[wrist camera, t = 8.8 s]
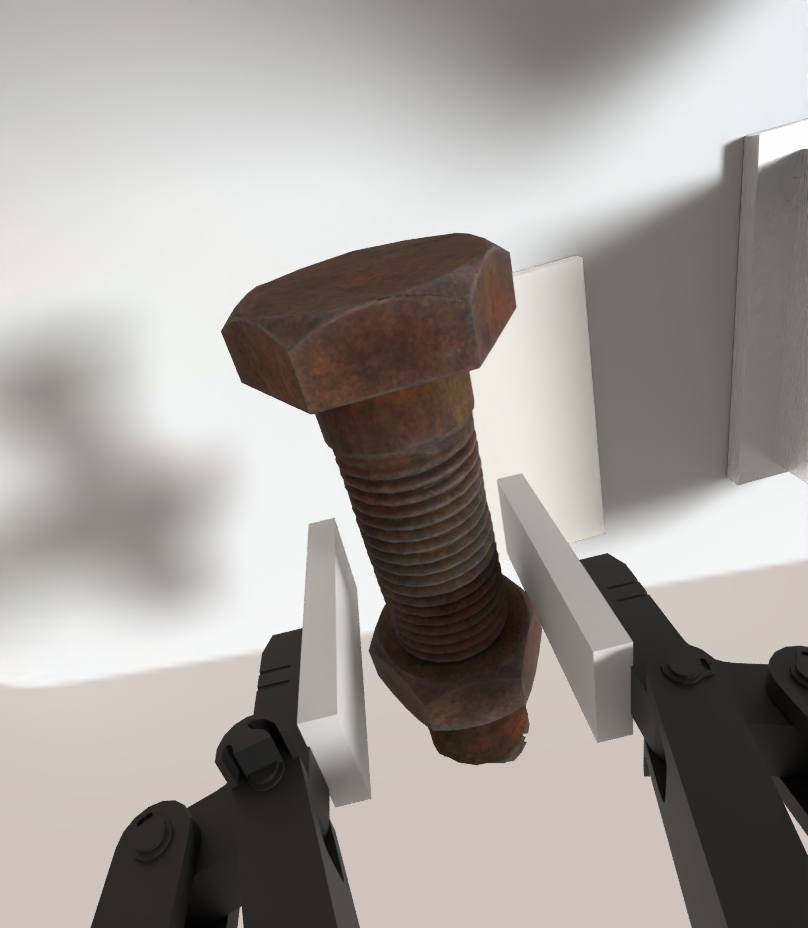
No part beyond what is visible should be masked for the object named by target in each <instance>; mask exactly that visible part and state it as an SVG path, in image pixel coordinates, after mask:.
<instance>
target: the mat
mask: <svg viewBox="0 0 808 928" xmlns="http://www.w3.org/2000/svg"><path fill="white" fill-rule="evenodd" d="M512 275H513V283H514V290H515V298H516V306H517V308H516V310H515V311H514V313H513V315H512V316H511V318H510V320H509V321H508V323H507V325H506V326H505V328H504V330H503V331H502V333H501V335H500V336H499V338H498V340H497V341H496V343H495V345H494V346H493V348H492V350H491V351H490V353H489V354H488V356H487V358H486V359H485V361H484V362H483V364H482V366H481V367H480V368H479V369H475V370H472V371H470V377H471V383H472V389H473V395H474V409H473V411H472V413H473V418H474V429H475V431H476V437H477V441H478V447H479V455H480V458H481V462H482V464H481V467H482V471H483V479H484V488H485V491H486V500H487V503H488V507H489V511H490V513H491V520H492V523H493V531H494V533H495V541H496V544H497V552H498V554H499V562H504V561H507V560H510V558H509V556H508V554H507V550H506V543H505V536H504V528H503V521H502V514H501V507H500V500H499V492H498V485H497V479H499V478H504V477H508V476H512V475H516V474H520V473H522V474H523V475H524V477H525V478H526V480H527V482H528V483H529V485H530V486H531V488H532V489H533V491H534V492H535V494H536V495H537V497H538V498H539V500H540V501H541V503H542V504H543V506H544V507H545V509H546V510H547V512H548V513H549V515H550V517H551V518H552V520H553V521H554V523H555V524H556V526H557V527H558V529H559V530H560V532H561V533H562V535H563V536H564V538H565V539H566V541H567V542H568V544H569V543H572V542H576V541H580V540H583V539H587V538H590V537H594V536H598V535H601V534H605V529H604V516H603V504H602V492H601V479H600V467H599V455H598V443H597V430H596V418H595V406H594V394H593V381H592V369H591V357H590V344H589V332H588V320H587V308H586V295H585V283H584V271H583V258H582V257H579V256H572V257H568V258H565V259H561V260H558V261H554V262H551V263H547V264H543V265H540V266H536V267H533V268H529V269H526V270H522V271H519V272H515V273H512Z"/></svg>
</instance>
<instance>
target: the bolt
mask: <svg viewBox="0 0 808 928" xmlns="http://www.w3.org/2000/svg"><path fill="white" fill-rule="evenodd" d="M516 308H517V306H516V298H515V290H514V283H513V275H512V267H511V259H510V253H509V252H508V251H506V250H505V249H503V248H501V247H500V246H498V245H496V244H494V243H492V242H490V241H488V240H486V239H485V238H482V237H478V236H475V235H471V234H466V233H453V234H446V235H439V236H432V237H425V238H418V239H411V240H405V241H400V242H395V243H390V244H385V245H380V246H375V247H370V248H365V249H361V250H356V251H352V252H349V253H346V254H343V255H340V256H337V257H334V258H331V259H328V260H325V261H322V262H319V263H316V264H314V265H311V266H308V267H305V268H302V269H299V270H297V271H294V272H292V273H290V274H287V275H285V276H282V277H280V278H277V279H275V280H273V281H270V282H268V283H265V284H262V285H259V286H257V287H255V288H254V289H253V290H251V291H250V292H249V293H248V294H246V296H245V297H244V298H243V299H242V300H241V301H240V302H239V303H238V305H237V306H236V307H235V308H234V310H233V312H232V313H231V315H230V317H229V318H228V320H227V322H226V323H225V325H224V327H223V329H222V330H221V333H222V335H223V338H224V340H225V343H226V345H227V348H228V350H229V352H230V355H231V357H232V360H233V362H234V365H235V367H236V370H237V372H238V375H239V377H240V380H241V382H242V383H244V384H246V385H248V386H250V387H252V388H255V389H257V390H259V391H261V392H263V393H265V394H268V395H270V396H272V397H274V398H276V399H278V400H281V401H283V402H285V403H287V404H289V405H291V406H294V407H296V408H298V409H300V410H302V411H304V412H307V413H309V414H315V415H316V418H317V421H318V423H319V426H320V429H321V432H322V434H323V437H324V440H325V442H326V443H327V445H328V446H329V447H330V448H331V449H333V452H334V455H335V456H336V459H335V460H336V463H337V464H338V466H339V468H340V474H341V476H342V478H343V479H344V485H345V488H346V490H347V491H348V494H349V498H350V501H351V504H352V509H353V511H354V513H355V515H356V521H357V524H358V526H359V528H360V532H361V535H362V538H363V540H364V544H365V547H366V549H367V553H368V556H369V558H370V560H371V564H372V565H373V567H374V573H375V575H376V578H377V581H378V584H379V586H380V588H381V592H382V594H383V596H384V600H385V602H386V605H385V606H384V608H383V610H382V612H381V615H380V617H379V620H378V622H377V625H376V627H375V631H374V634H373V638H372V641H371V645H370V649H369V652H370V655H371V657H372V660H373V663H374V665H375V668H376V670H377V673H378V675H379V677H380V678H381V679H382V680H383V682H384V683H385V684H386V686H387V687H388V688H389V689H390V691H391V692H392V693H393V694H394V695H395V696H396V697H397V698H398V699H399V701H400V702H401V703H402V704H403V705H404V706H405V707H406V708H407V709H408V710H409V711H410V712H411V713H412V714H413V715H414V716H415V717H416V718H417V719H418V720H420V721H421V722H422V723H423V724H425V725H426V726H427V727H428V729H429V730H430V734H431V737H432V740H433V743H434V746H435V747H436V749H437V751H438V752H439V753H440V754H442V755H444V756H446V757H449V758H451V759H453V760H455V761H457V762H459V763H466V764H473V765H479V764H484V763H505V762H509V761H514V760H515V759H516V758H517V757H518V756H519V754H520V753H521V752H522V750H523V748H524V746H525V745H526V742H525V741H524V740H525V737H524V736H522V735H523V733H525V734H526V733H528V730H529V720H528V713H527V709H526V703H527V700H528V697H529V695H530V692H531V689H532V685H533V681H534V677H535V673H536V667H537V662H538V656H539V649H540V641H541V633H542V627H541V623H540V621H539V619H538V617H537V615H536V613H535V611H534V608H533V606H532V604H531V602H530V600H529V598H528V596H527V594H526V592H525V591H524V590H523V589H522V588H521V587H519V586H518V585H516V584H515V583H514V582H512V581H511V580H510V579H508V578H507V577H506V576H504V575H502V573H501V566H500V562H499V554H498V552H497V544H496V541H495V533H494V531H493V523H492V520H491V513H490V511H489V507H488V503H487V500H486V491H485V488H484V479H483V471H482V467H481V464H482V462H481V458H480V455H479V447H478V441H477V437H476V431H475V429H474V418H473V413H472V411H473V409H474V395H473V389H472V383H471V377H470V371H472V370H475V369H479V368H480V367H481V366H482V364H483V362H484V361H485V359H486V358H487V356H488V354H489V353H490V351H491V350H492V348H493V346H494V345H495V343H496V341H497V340H498V338H499V336H500V335H501V333H502V331H503V330H504V328H505V326H506V325H507V323H508V321H509V320H510V318H511V316H512V315H513V313H514V311H515V310H516Z"/></svg>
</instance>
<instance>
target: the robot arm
mask: <svg viewBox="0 0 808 928" xmlns="http://www.w3.org/2000/svg"><path fill="white" fill-rule="evenodd" d="M497 485H498V492H499V500H500V507H501V514H502V521H503V528H504V536H505V543H506V550H507V554H508V556H509V558H510V560H511V562H512V564H513V566H514V569H515V571H516V573H517V575H518V577H519V579H520V581H521V583H522V585H523V587H524V590H525V592H526V594H527V596H528V598H529V600H530V602H531V604H532V606H533V608H534V611H535V613H536V615H537V617H538V619H539V621H540V623H541V625H542V627H543V629H544V632H545V633H546V636H547V638H548V640H549V642H550V644H551V646H552V648H553V650H554V653H555V655H556V657H557V659H558V661H559V663H560V665H561V667H562V669H563V671H564V673H565V676H566V678H567V680H568V682H569V684H570V686H571V688H572V690H573V692H574V695H575V696H576V699H577V701H578V703H579V705H580V707H581V709H582V711H583V713H584V716H585V718H586V720H587V722H588V724H589V726H590V728H591V730H592V732H593V734H594V736H595V739H596V741H597V743H599V742H603V741H607V740H611V739H615V738H619V737H624V736H627V735H632V734H633V719H634V720H635V722H636V724H637V726H638V728H639V729H640V731H641V733H642V735H643V736H644V776H651V780H652V783H653V787H654V791H655V794H656V798H657V802H658V805H659V809H660V813H661V816H662V820H663V824H664V827H665V831H666V834H667V838H668V842H669V845H670V849H671V853H672V857H673V860H674V864H675V868H676V871H677V875H678V878H679V882H680V886H681V890H682V893H683V897H684V901H685V904H686V908H687V912H688V915H689V919H690V922H691V926H692V928H808V855H807V853H806V851H805V848H804V846H803V844H802V842H801V840H800V838H799V836H798V834H797V831H796V829H795V827H794V825H793V823H792V820H791V818H790V816H789V814H788V812H787V810H786V808H785V805H786V806H787V808H788V809H789V811H790V812H791V813H792V815H793V816H794V817H795V819H796V820H797V822H798V823H799V824H800V826H801V827H802V829H803V830H804V831H805V833H806V834H807V835H808V647H804V646H791V647H785V648H782V649H780V650H778V651H776V652H775V653H774V654H773V656H772V657H771V659H770V660H769V664H745V663H744V664H743V663H730V662H723V661H719V660H715V659H714V658H713V657H711V656H710V655H709V654H707V653H706V652H704V651H703V650H701V649H699V648H697V647H694V646H691V645H689V644H688V643H686V642H685V641H684V639H683V638H682V637H681V636H680V634H679V633H678V632H677V630H676V629H675V628H674V627H673V625H672V624H671V623H670V621H669V620H668V619H667V617H666V616H665V615H664V614H663V612H662V611H661V610H660V609H659V607H658V606H657V605H656V603H655V602H654V601H653V599H652V598H651V597H650V595H647V592H646V590H645V589H644V588H643V586H642V585H641V584H640V582H638V581H637V578H636V577H635V576H634V575H633V573H632V572H631V571H630V569H629V568H628V567H627V566H626V564H624V563H623V562H621V561H619V560H618V559H616V558H614V557H613V556H611V555H609V554H608V553H606V554H602V555H598V556H594V557H590V558H586V559H581V560H579V559H578V558H577V556H576V555H575V553H574V552H573V550H572V548H571V547H570V545H569V544H568V542H567V541H566V539H565V538H564V536H563V535H562V533H561V532H560V530H559V529H558V527H557V526H556V524H555V523H554V521H553V520H552V518H551V517H550V515H549V513H548V512H547V510H546V509H545V507H544V506H543V504H542V503H541V501H540V500H539V498H538V497H537V495H536V494H535V492H534V491H533V489H532V488H531V486H530V485H529V483H528V482H527V480H526V478H525V477H524V475H523V474H522V473H520V474H516V475H512V476H508V477H504V478H499V479H497ZM215 763H216V765H217V766H218V768H219V770H220V771H221V773H222V775H223V776H224V778H225V780H226V781H227V784H226V785H224V786H223V787H222V788H220V789H219V790H217V791H216V792H214V793H212V794H211V795H209V796H207V797H205V798H204V799H202V800H200V801H198V802H197V803H195V804H193V805H191V806H190V807H188V808H186V807H185V805H183V804H181V803H179V802H177V801H175V800H174V801H162V802H159V803H157V804H155V805H152V806H150V807H148V808H147V809H146V810H144V811H143V812H142V813H141V814H139V815H138V816H137V817H136V818H134V820H133V821H132V822H131V823H130V825H129V826H128V827H127V828H126V830H125V831H124V832H123V834H122V836H121V838H120V841H119V843H118V845H117V847H116V850H115V853H114V856H113V859H112V862H111V866H110V868H109V872H108V875H107V878H106V881H105V884H104V888H103V891H102V894H101V897H100V900H99V903H98V906H97V910H96V913H95V916H94V919H93V922H92V925H91V928H237V926H238V917H239V909H240V907H241V906H242V913H243V924H244V928H360V927H359V923H358V919H357V915H356V911H355V907H354V903H353V899H352V895H351V892H350V887H349V884H348V879H347V876H346V872H345V868H344V864H343V860H342V856H341V852H340V848H339V844H338V840H337V836H336V832H335V829H334V827H333V825H332V823H331V821H330V819H329V795H330V797H331V799H332V801H333V803H334V805H335V807H339V806H343V805H347V804H351V803H355V802H359V801H364V800H368V799H371V788H370V774H369V760H368V744H367V731H366V716H365V700H364V686H363V672H362V657H361V641H360V626H359V612H358V597H357V587H356V584H355V581H354V578H353V575H352V572H351V568H350V565H349V562H348V559H347V556H346V553H345V550H344V547H343V543H342V540H341V537H340V534H339V531H338V528H337V525H336V522H335V518H332V519H328V520H324V521H320V522H315V523H311V524H309V530H308V546H307V563H306V580H305V597H304V614H303V628H301V629H297V630H293V631H289V632H285V633H281V634H277V635H273V636H272V638H271V639H270V641H269V643H268V644H267V646H266V648H265V650H264V651H263V653H262V659H261V665H260V676H259V680H258V691H257V694H256V701H255V708H254V715H252V716H249V717H246V718H245V719H243V720H241V721H240V722H238V723H237V724H235V725H234V726H233V727H232V728H231V729H230V730H229V731H228V732H227V733H226V734H225V735H224V737H223V739H222V741H221V742H220V744H219V746H218V748H217V752H216V759H215ZM783 802H784V803H785V805H784V803H783Z"/></svg>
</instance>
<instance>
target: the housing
mask: <svg viewBox="0 0 808 928" xmlns="http://www.w3.org/2000/svg"><path fill="white" fill-rule="evenodd" d="M784 472H790V473H792V474H793V475H795V476H796V477H798V478H800V479H801V480H803V481H804V482H806V483H807V484H808V119H804V120H801V121H797V122H793V123H790V124H786V125H783V126H779V127H776V128H772V129H769V130H765V131H762V132H758V133H754V134H751V135H747V136H744V155H743V175H742V194H741V214H740V233H739V253H738V272H737V291H736V311H735V330H734V350H733V369H732V389H731V408H730V428H729V447H728V467H727V477H728V478H729V479H730V480H732V481H733V482H734V483H736V484H737V485H741V484H744V483H748V482H752V481H755V480H759V479H763V478H766V477H770V476H773V475H777V474H781V473H784Z"/></svg>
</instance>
